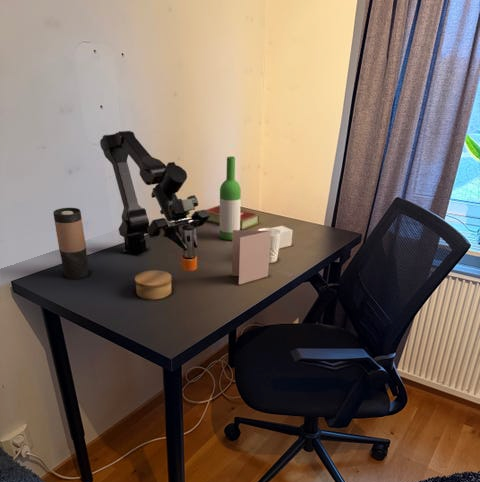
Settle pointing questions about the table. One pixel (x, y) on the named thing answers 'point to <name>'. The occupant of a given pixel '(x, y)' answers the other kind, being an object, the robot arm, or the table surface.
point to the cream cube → (285, 236)
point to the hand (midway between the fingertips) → (191, 248)
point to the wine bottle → (229, 202)
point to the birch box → (153, 284)
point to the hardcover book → (245, 217)
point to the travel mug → (71, 242)
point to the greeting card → (250, 254)
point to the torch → (188, 249)
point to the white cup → (273, 243)
